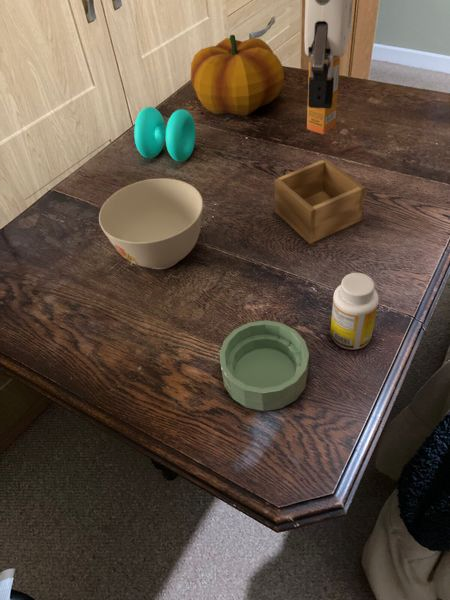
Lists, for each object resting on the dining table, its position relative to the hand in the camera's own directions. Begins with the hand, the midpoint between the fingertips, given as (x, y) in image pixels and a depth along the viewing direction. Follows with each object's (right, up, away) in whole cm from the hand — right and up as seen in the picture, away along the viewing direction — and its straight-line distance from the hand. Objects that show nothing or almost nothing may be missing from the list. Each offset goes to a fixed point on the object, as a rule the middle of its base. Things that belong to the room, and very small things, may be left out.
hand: (322, 97), depth 69 cm
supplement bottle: (+4, -33, -1) cm, 34 cm away
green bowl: (-9, -38, -4) cm, 40 cm away
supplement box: (0, -3, +4) cm, 5 cm away
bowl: (-24, -21, +13) cm, 35 cm away
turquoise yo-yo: (-25, +2, +35) cm, 43 cm away
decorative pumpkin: (-11, +18, +47) cm, 52 cm away
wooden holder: (+2, -14, +17) cm, 22 cm away
